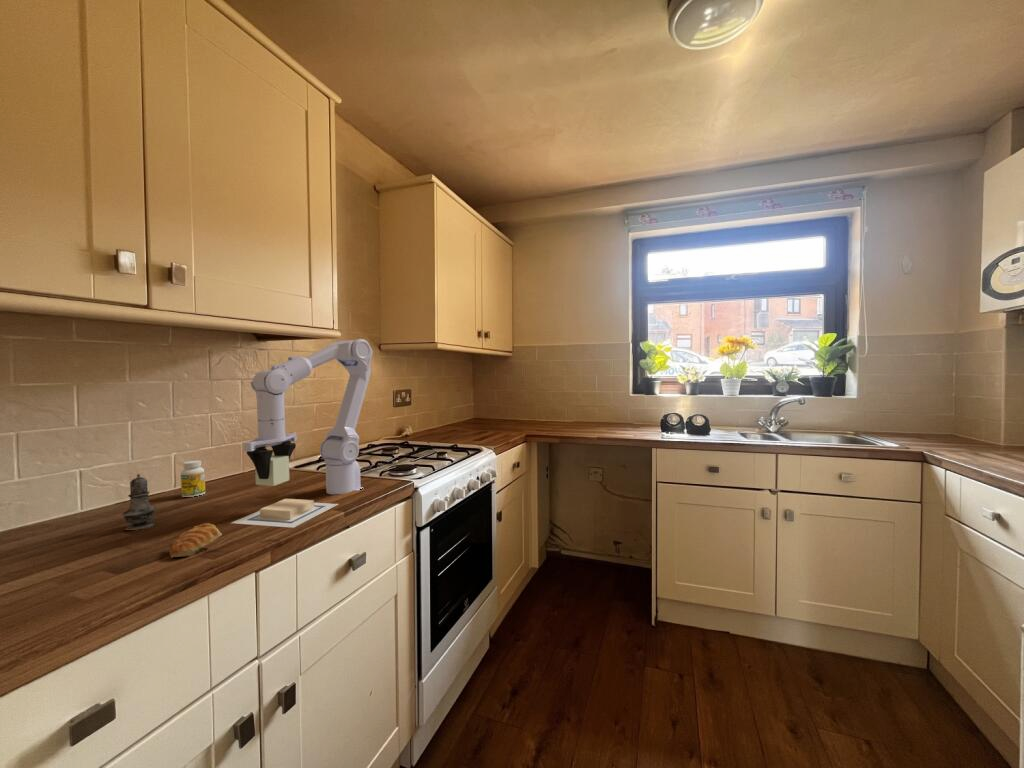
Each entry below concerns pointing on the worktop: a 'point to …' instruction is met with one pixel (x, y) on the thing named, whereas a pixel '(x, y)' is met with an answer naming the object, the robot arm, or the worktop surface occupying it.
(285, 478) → the sage block
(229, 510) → the worktop surface
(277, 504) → the maple plinth
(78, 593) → the worktop surface
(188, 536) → the pastry
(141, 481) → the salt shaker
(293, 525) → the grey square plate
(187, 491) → the supplement bottle
